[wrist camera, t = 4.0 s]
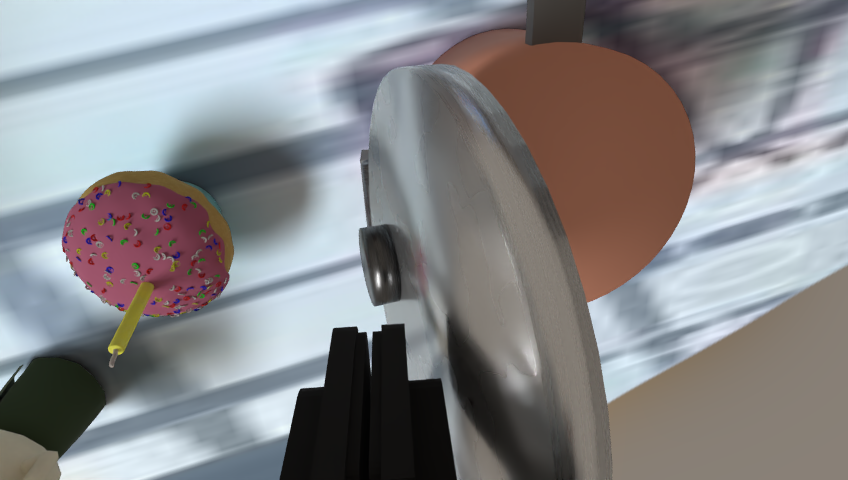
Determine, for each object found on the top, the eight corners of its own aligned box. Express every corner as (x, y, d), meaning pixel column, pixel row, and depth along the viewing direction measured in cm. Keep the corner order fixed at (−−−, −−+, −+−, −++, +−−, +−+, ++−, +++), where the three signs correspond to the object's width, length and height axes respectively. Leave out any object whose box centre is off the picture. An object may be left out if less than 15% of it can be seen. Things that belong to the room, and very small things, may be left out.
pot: (354, -27, 25) (338, -40, 16) (617, -38, 26) (748, -58, 16) (382, 268, 33) (382, 373, 24) (580, 254, 34) (654, 350, 25)
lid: (373, 40, 17) (322, 43, 17) (698, 141, 5) (528, 167, 4) (397, 330, 23) (360, 339, 22) (566, 720, 10) (491, 757, 10)
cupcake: (278, 235, 31) (223, 357, 21) (177, 293, 33) (79, 435, 22) (186, 123, 28) (64, 202, 17) (78, 194, 29) (-98, 307, 19)
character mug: (90, 322, 33) (-64, 494, 22) (158, 389, 37) (53, 570, 25) (-31, 379, 35) (-236, 569, 23) (44, 438, 38) (-104, 631, 26)
